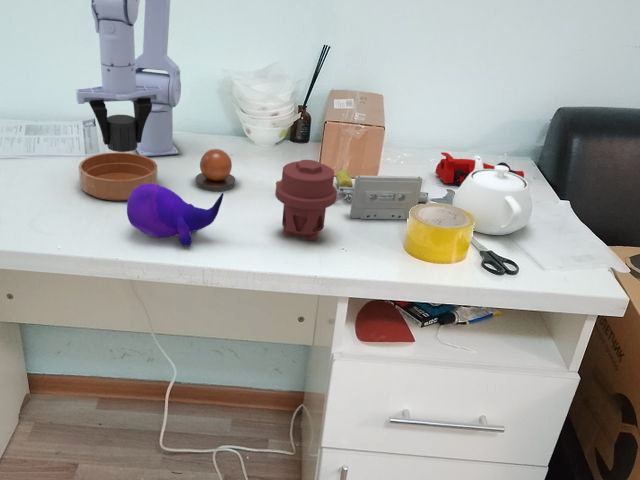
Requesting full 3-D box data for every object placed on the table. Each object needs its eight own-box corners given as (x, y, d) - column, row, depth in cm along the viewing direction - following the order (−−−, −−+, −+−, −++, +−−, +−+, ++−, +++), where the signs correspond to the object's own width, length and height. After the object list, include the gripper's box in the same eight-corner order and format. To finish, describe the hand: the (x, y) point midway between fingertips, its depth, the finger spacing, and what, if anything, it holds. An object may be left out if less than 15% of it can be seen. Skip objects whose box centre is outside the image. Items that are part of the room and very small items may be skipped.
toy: (219, 235, 122) (133, 216, 122) (228, 182, 116) (137, 163, 116) (210, 259, 115) (119, 239, 115) (219, 204, 109) (122, 183, 109)
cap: (105, 142, 131) (103, 115, 128) (133, 141, 132) (132, 113, 129) (110, 152, 127) (108, 124, 124) (139, 151, 128) (138, 123, 125)
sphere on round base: (190, 177, 139) (191, 144, 136) (228, 174, 142) (229, 141, 138) (201, 192, 134) (202, 158, 130) (240, 189, 136) (242, 155, 132)
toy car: (526, 186, 147) (533, 162, 144) (444, 186, 144) (449, 161, 141) (513, 174, 151) (520, 151, 148) (434, 174, 148) (439, 151, 146)
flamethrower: (273, 178, 140) (276, 201, 132) (274, 165, 139) (277, 187, 131) (419, 187, 143) (430, 210, 135) (422, 174, 141) (434, 197, 133)
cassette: (350, 219, 128) (356, 178, 124) (348, 214, 129) (354, 174, 125) (416, 220, 129) (424, 179, 125) (413, 215, 131) (421, 175, 127)
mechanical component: (300, 216, 128) (343, 236, 122) (260, 231, 122) (303, 253, 116) (307, 148, 121) (353, 166, 115) (265, 160, 115) (311, 180, 109)
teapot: (546, 251, 122) (566, 191, 116) (469, 250, 121) (484, 189, 115) (499, 198, 140) (514, 144, 134) (431, 197, 139) (443, 142, 132)
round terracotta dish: (75, 175, 137) (73, 154, 134) (148, 170, 141) (147, 150, 139) (87, 205, 126) (85, 183, 124) (165, 198, 130) (165, 177, 128)
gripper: (77, 70, 116) (84, 152, 124) (165, 67, 120) (166, 147, 128) (71, 59, 121) (78, 138, 129) (156, 57, 126) (157, 133, 133)
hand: (121, 141), depth 129 cm, fingers closed on cap, 5 cm apart
